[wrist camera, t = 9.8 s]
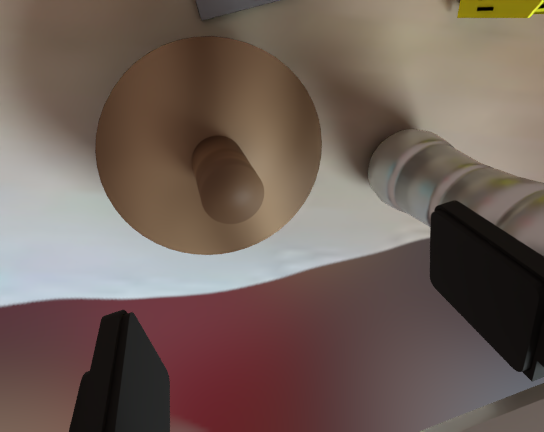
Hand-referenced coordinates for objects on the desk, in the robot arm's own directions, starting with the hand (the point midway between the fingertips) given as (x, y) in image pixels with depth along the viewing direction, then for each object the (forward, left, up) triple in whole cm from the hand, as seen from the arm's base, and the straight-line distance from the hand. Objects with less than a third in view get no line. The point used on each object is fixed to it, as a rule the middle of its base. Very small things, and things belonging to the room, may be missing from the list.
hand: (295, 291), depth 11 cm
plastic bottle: (-14, +7, -19) cm, 25 cm away
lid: (+1, 0, -14) cm, 14 cm away
